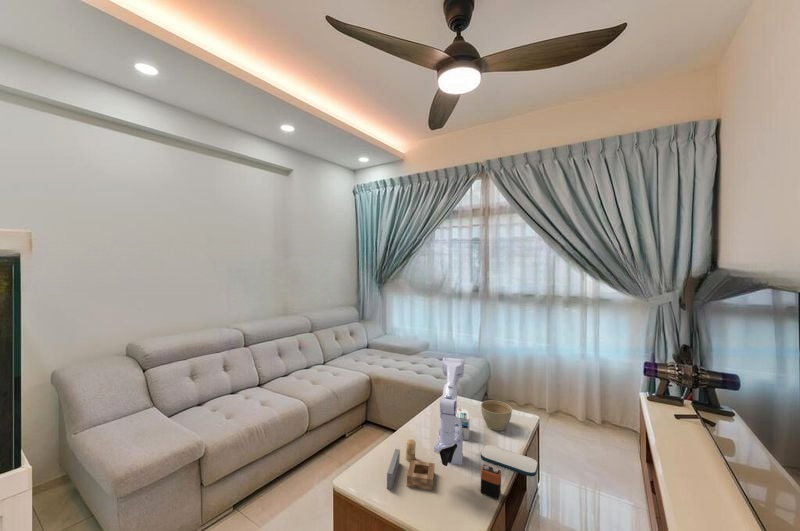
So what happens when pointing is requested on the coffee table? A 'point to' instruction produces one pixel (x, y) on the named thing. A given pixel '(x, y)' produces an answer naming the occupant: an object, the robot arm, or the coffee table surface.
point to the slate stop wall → (393, 469)
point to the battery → (491, 481)
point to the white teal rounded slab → (509, 460)
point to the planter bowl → (496, 414)
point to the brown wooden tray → (420, 475)
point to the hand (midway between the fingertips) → (446, 463)
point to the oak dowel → (410, 450)
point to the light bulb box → (464, 422)
